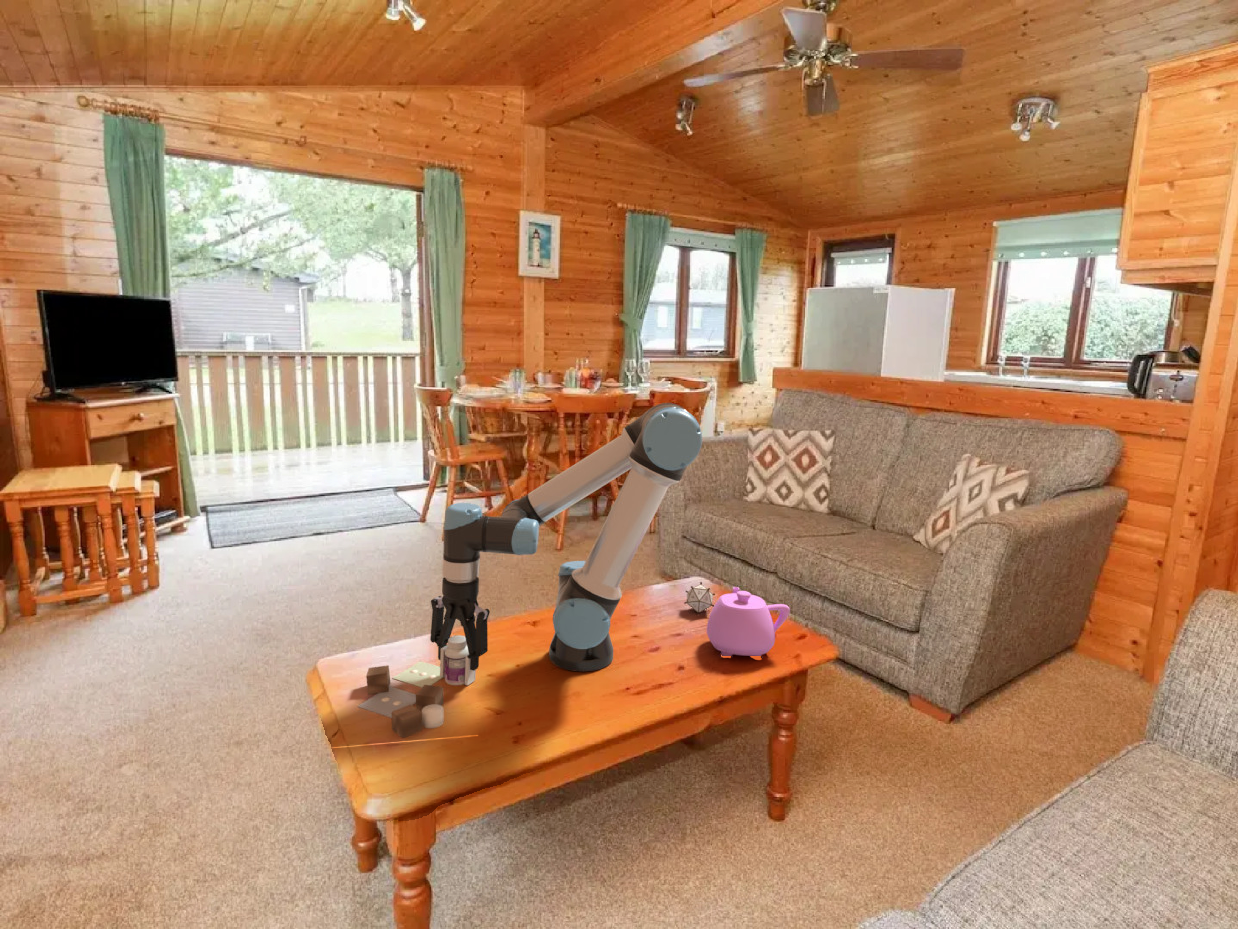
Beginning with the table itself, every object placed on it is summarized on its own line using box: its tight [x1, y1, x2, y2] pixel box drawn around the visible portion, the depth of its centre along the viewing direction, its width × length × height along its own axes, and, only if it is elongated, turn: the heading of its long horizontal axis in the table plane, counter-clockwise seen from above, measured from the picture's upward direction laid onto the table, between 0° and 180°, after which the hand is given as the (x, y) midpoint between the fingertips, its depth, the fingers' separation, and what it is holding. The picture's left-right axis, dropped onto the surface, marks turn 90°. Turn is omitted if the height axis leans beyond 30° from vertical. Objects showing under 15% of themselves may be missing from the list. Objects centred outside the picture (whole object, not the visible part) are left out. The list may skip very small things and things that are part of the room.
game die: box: [683, 581, 716, 613], centre depth 193 cm, size 9×8×10 cm
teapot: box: [706, 586, 791, 657], centre depth 171 cm, size 20×20×15 cm
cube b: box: [391, 704, 423, 739], centre depth 129 cm, size 4×4×4 cm
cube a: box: [415, 685, 444, 712], centre depth 137 cm, size 4×4×4 cm
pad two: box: [357, 685, 417, 719], centre depth 139 cm, size 9×9×1 cm
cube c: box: [365, 665, 391, 695], centre depth 144 cm, size 4×4×4 cm
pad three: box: [392, 660, 445, 689], centre depth 151 cm, size 9×9×1 cm
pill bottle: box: [444, 634, 469, 686], centre depth 149 cm, size 5×5×10 cm
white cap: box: [422, 704, 444, 729], centre depth 132 cm, size 4×4×3 cm
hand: (457, 678), depth 149 cm, fingers open, 6 cm apart
